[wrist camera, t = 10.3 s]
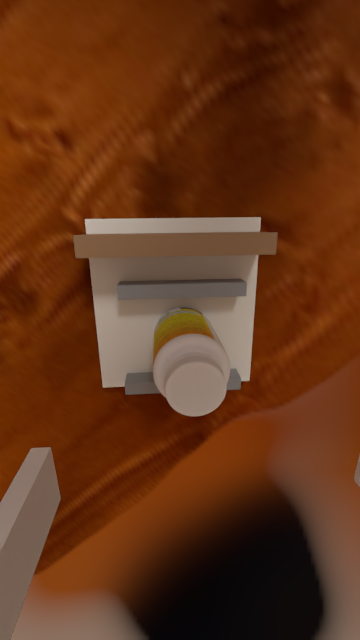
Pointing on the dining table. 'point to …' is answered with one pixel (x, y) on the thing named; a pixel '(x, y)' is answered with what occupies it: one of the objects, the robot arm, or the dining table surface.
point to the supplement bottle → (189, 362)
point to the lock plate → (171, 287)
